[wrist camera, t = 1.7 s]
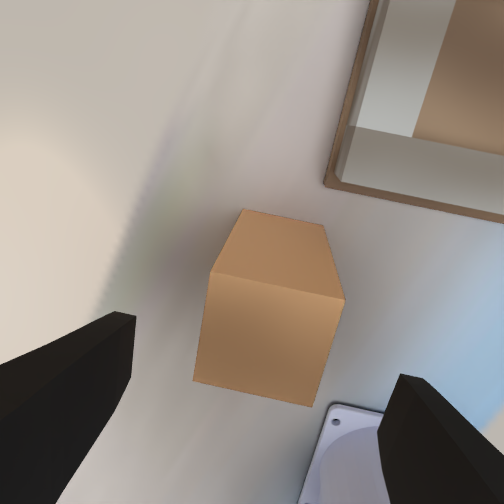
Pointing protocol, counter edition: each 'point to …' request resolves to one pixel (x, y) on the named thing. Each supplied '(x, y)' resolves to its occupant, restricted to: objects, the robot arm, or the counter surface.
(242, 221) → the peg
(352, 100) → the socket block
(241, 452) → the counter surface
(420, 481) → the robot arm
